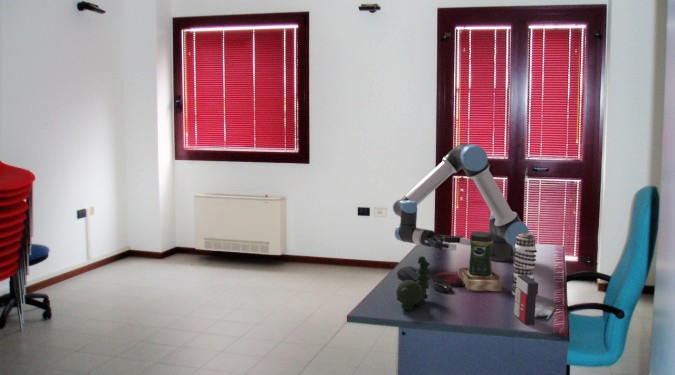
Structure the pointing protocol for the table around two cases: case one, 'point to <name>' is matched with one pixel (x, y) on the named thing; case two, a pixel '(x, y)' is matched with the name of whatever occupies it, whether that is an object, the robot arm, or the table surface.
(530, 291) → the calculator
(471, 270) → the coffee jar
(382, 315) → the table surface
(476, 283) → the light brown wooden box
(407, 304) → the toy figurine
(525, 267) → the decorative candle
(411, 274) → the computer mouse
